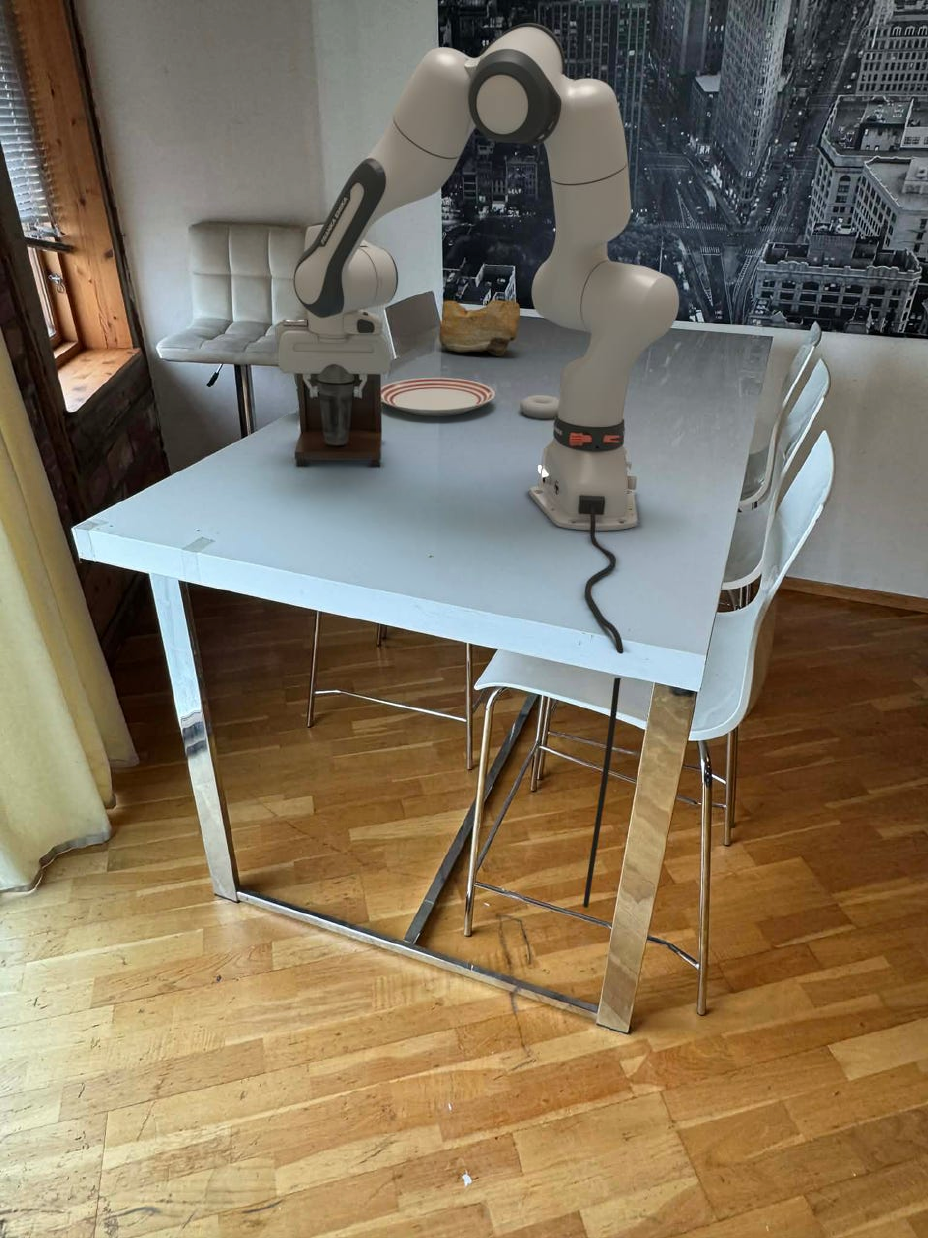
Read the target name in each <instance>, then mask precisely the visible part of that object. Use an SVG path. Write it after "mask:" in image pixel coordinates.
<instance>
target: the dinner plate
mask: <svg viewBox="0 0 928 1238" xmlns="http://www.w3.org/2000/svg"><path fill="white" fill-rule="evenodd" d="M495 396H496V392H495V391H494V389H493V388H492V387H490V386H489V385H486V384H484V383H481V382H477V381H473V380H469V379H468V380H467V379H460V378H452V377H451V378H449V377H424V378H423V377H422V378H412V379H404V380H399V381H394V382H391V383H388V384H385V385H384V386H381V403H383V404H385V405H387V406H390V407H392V408H394V409H396V410H399V411H400V410H401V411H402V412H405V413H408V414H411V415H417V416H422V417H449V416H457V415H461V414H464V413H468V412H469V411H474V410H476V409H478V408H481V407H483V406H485V405H487V404H489V403H490V402H491V401H493V399H494V398H495Z"/></svg>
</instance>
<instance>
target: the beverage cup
mask: <svg viewBox="0 0 928 1238" xmlns="http://www.w3.org/2000/svg"><path fill="white" fill-rule="evenodd" d="M316 382H317V387H318V392H319V396H320V406H321V416H322V426H323V434H324V442H325V443H327V444H331V445H343V444H346V443H348V437H349V429H350V417H351V405H352V393H353V391H354V383H355V379H354V374H349V373H348V371H346V369H345V368H343V367H342V366H340V365H337V364H331V365H328V366H326V367H325V368H324V369H323V370H322V371H321V373H320V374H317V378H316Z"/></svg>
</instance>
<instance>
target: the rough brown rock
mask: <svg viewBox="0 0 928 1238" xmlns="http://www.w3.org/2000/svg"><path fill="white" fill-rule="evenodd" d="M520 317H521V308H520V304H519V303H518V302H517V301H514V300H499V299H498V300H497V299H495V300H490V301H489V302H488V303H487V305H485V306H484V307H482V308H479V309H478V308H477V309H467V308H466V307H464V306H463V305H461V304H460V303H459V302H458V301H456V300H445V301H443V302H442V305H441V322H440V323H439V333H438V339H439V343H440V344H441V346H443V347H445V348H446V349H447V350H448V351H451V352H455V353H472V352H474V353H475V352H478V353H482V352H489V353H490V354H491V355H493V356H496V357H502V356H503V355H505V353H506V351H507V348H508V346H509V343H510V342H513V341H515V340H516V337H517V333H518V330H519V326H520Z"/></svg>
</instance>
